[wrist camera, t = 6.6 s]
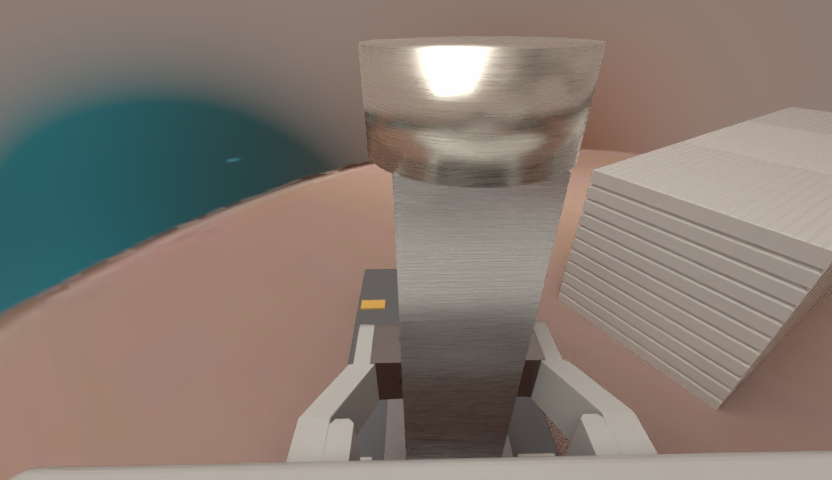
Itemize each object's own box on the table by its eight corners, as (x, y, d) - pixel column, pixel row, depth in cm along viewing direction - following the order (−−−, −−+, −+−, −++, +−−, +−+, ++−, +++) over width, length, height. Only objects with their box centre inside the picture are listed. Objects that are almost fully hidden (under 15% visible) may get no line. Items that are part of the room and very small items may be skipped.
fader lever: (390, 406, 17) (359, 37, 9) (492, 404, 17) (560, 34, 9) (383, 535, 13) (310, 53, 4) (519, 532, 13) (706, 49, 4)
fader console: (367, 289, 28) (364, 268, 27) (491, 287, 28) (494, 266, 27) (316, 613, 13) (305, 595, 12) (588, 606, 13) (605, 588, 12)
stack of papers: (714, 413, 19) (839, 252, 13) (556, 301, 27) (593, 169, 21) (871, 243, 33) (965, 129, 28) (738, 202, 41) (790, 106, 35)
